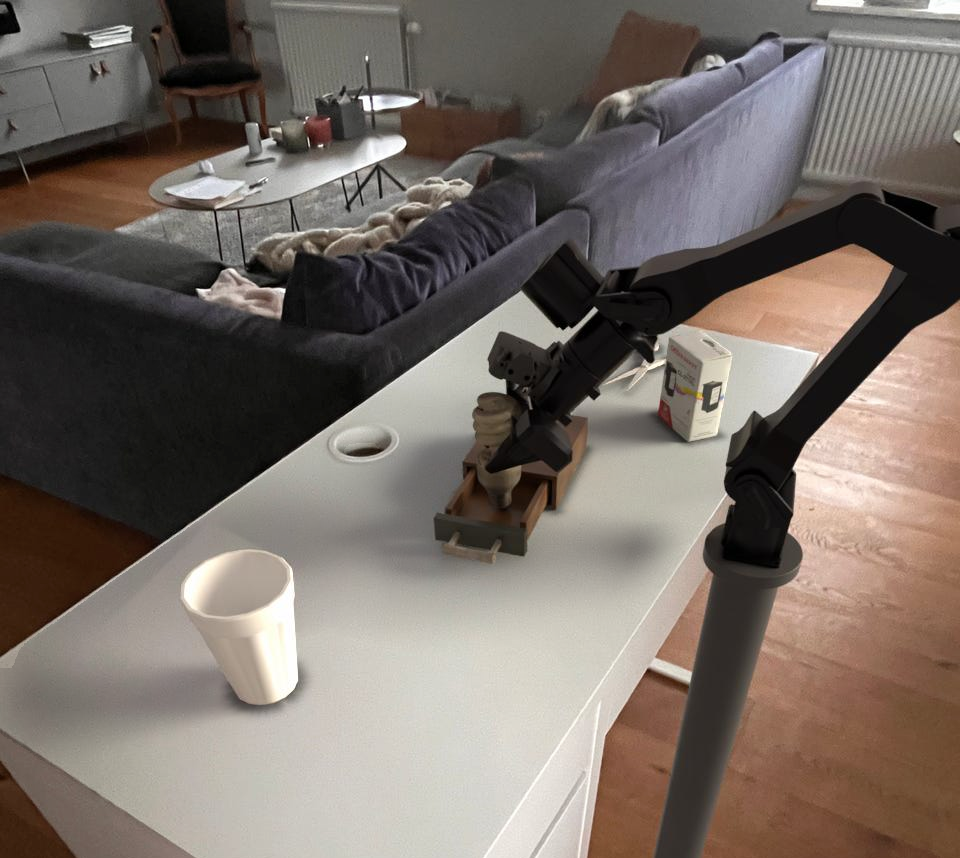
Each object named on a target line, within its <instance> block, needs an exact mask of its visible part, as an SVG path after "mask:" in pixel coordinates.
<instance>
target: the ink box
mask: <svg viewBox="0 0 960 858" xmlns="http://www.w3.org/2000/svg"><path fill="white" fill-rule="evenodd" d="M665 359H666V362H665V364H664V369H663V370H664V371H663V377H662V382H661V383H662V384H661V392H660V397H659V403H658V412H657V416H658V417H659V418H660V419H661V420H662V421H663V422H664V423H666V424H667V425H668V426H669V427H671V429H673V430H674V432H676V433H677V434H678V435H679V436H681V438H683V439H684V440H685V441H686V442H688V443H689V442H694V441H699V440H703V439H709V438H711V437H717V435H718V431H719V426H720V422H721V416H722V411H723V406H724V402H725V401H724V400H725V395H726V391H727V385H728V380H729V375H730V371H731V365H732V362H733V354H732V352H731V351H730V350H728V349H727V348H726V347H724V346H723V345H721V344H720V343H719V342H717V341H716V340H715V339H713V338H712V337H710V336H709V335H708V334H707V333H705V332H704V331H702V330H695V331H691V332H687V333H681V334H677V335H672V336H669V337H668V342H667V348H666V356H665Z"/></svg>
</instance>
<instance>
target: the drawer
mask: <svg viewBox="0 0 960 858" xmlns="http://www.w3.org/2000/svg"><path fill="white" fill-rule="evenodd" d="M552 481H553V480H547V479H541V478H535V477H529V476H523V475H521V476H520V479H519V481H518V483H517V484H516V485H515V486H514V488H513V489H512V491H511V498H512V502H511V504H510V505H509V506H508V507H507V509H506V510H501V509H494V508H493V507H492V506H491V504H490V503H489V501H488V499H489V498H488V492H487V490H486V489H485V488H484V487H483V486H482V484H481V483H480V482H479V479H478V475H477V468H475V467H472V468H471V470H470V471H469V473H468V474H467V476H466V477H465V479H464V480H463V479H462V482H461V483H460V484H459V487H457V489H456V491H455V493H454V494H453V495H452V497H451V498H450V500H449V501H448V502H447V504H446V506H445V507H444V513H443V512H436V513H435V515H434V516H433V528H434V539H435V541H439V542H444V544H443V545H442V551H441V552H442V554H443V555H445V556H451V557H456V558H460V559H467V560H471V561H476V562H481V563H486V564H492V565H494V564H495V562H496V559H497V553H502V554H506V555H513V556H517V557H522V558H524V557H525V556H526V555H527V552H528V540H529V538H530V537H531V534H532V532H533V531H534V529H535V527H536V525H537V523H538V521H539V519H540V517H541V515H542V514H543V512H544V509H546V508H545V506H546V504H547V502H548V500H549V498H550V496H551V494H552ZM464 546H465V547H464Z"/></svg>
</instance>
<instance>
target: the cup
mask: <svg viewBox="0 0 960 858" xmlns="http://www.w3.org/2000/svg"><path fill="white" fill-rule="evenodd" d="M293 575H294V574H293V568H292V567H291V566H290V564H289V563H288V562H287V561H286V560H285V559H284V557H282V556H279V555H276V554H274V553H272V552H270V551H267V550H260V549H249V548H248V549H247V548H245V549H239V550H232V551H226V552H223V553H221V554H218V555H215V556H213V557H210V558H208V559H205V560H204V561H203V562H201V563H200V564H198V565H197V566H196V567H194V568H193V569H192V570H191V571H189V573H188V574H187V576H186V577H185V579H184V580H183V582H182V583H181V585H180V586H179V602H180V604H181V606H182V608H183V610H184V612H185V613H186V615H187V617H188V618H189V620H190V621H191V623H192V624H193V626H195V627H196V629H197V631H198V632H199V634H200V636H201V637H202V640H203V641H204V642H205V645H206V646H207V647H208V649H209V651H210V652H211V654H212V656H213V657H214V660H215V661H216V662H217V664H218V666H219V668H220V670H221V671H222V673H223V675H224V676H225V678H226V680H227V681H228V683H229V685H230V686H231V688H232V690H233V691H234V693H235V695H236V696H237V698H239V700H241V701H243V702H245V703H246V704H248V705H256V706H257V705H258V706H264V705H270V704H274V703H276V702H279V701H281V700H282V699H285V698H286V697H287V696H289V694H290V693H291V692H293V691H294V690H295V688H296V685H297V683H298V681H299V675H298V674H299V673H298V659H297V641H296V628H295V627H296V625H295V610H294V600H295V585H294V577H293Z"/></svg>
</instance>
